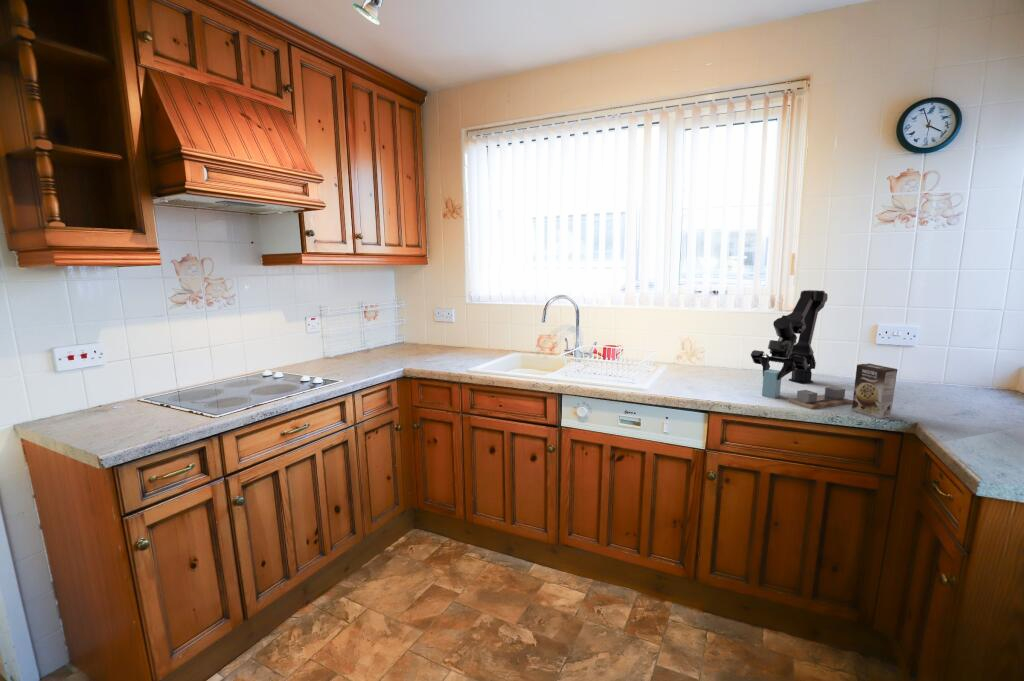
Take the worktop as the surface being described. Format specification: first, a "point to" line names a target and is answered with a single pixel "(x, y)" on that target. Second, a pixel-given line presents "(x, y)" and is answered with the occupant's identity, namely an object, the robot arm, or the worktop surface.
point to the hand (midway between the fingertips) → (770, 377)
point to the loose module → (771, 383)
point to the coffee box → (874, 390)
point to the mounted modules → (812, 396)
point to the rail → (821, 399)
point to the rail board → (821, 403)
